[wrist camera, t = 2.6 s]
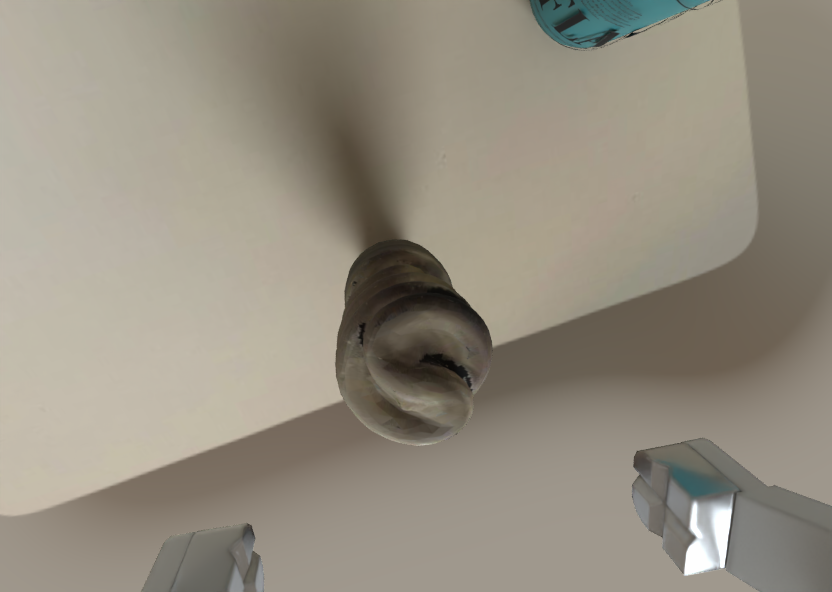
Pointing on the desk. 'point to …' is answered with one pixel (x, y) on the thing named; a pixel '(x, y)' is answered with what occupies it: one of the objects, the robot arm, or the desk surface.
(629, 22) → the beverage bottle
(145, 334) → the desk surface
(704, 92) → the desk surface
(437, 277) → the light bulb
